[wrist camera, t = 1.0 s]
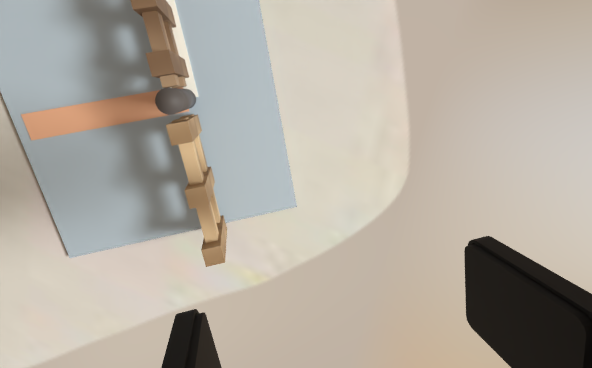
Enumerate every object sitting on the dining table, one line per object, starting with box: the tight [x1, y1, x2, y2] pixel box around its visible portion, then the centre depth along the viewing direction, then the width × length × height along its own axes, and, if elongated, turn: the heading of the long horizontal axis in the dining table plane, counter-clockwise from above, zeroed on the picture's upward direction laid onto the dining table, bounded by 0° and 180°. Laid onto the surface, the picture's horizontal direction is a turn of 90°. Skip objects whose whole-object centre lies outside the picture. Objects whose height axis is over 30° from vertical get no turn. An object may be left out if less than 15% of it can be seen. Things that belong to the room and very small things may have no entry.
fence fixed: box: [130, 0, 196, 115], centre depth 20 cm, size 10×1×7 cm, turn 10°
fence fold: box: [166, 114, 227, 267], centre depth 23 cm, size 9×1×6 cm, turn 10°
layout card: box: [0, 0, 297, 258], centre depth 24 cm, size 20×18×1 cm
